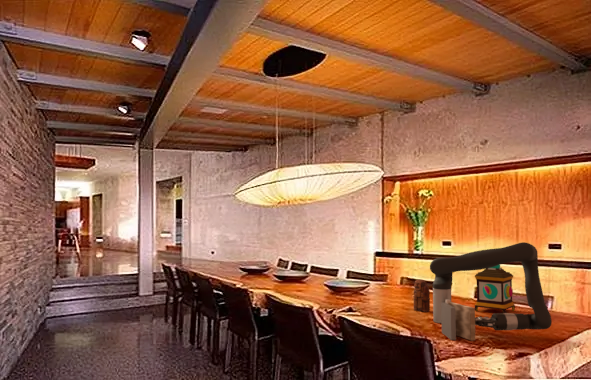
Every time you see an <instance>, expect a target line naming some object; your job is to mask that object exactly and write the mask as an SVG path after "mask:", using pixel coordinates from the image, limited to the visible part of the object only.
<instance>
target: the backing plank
mask: <svg viewBox="0 0 591 380" xmlns="http://www.w3.org/2000/svg"><path fill="white" fill-rule="evenodd" d="M448 302H452V299H451V300H446V303H441V322H442V323H441V333H442V335H444V336H446V337H447V338H448V339H449V340H450V341H457V335H456V319H455V308H454V307H452V306H451V305H449V304H448Z"/></svg>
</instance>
